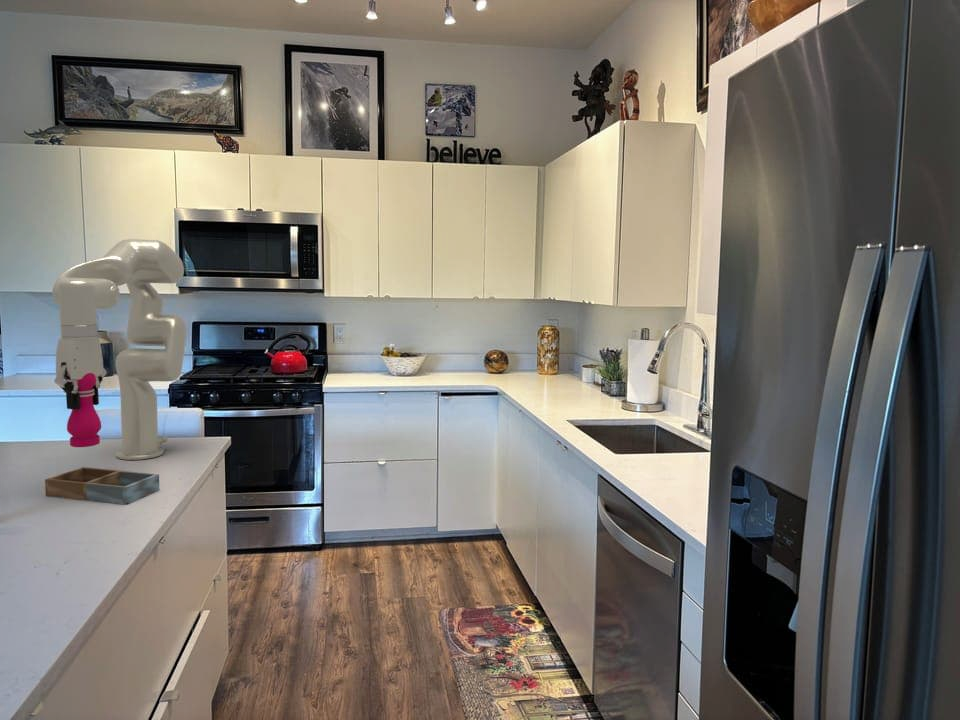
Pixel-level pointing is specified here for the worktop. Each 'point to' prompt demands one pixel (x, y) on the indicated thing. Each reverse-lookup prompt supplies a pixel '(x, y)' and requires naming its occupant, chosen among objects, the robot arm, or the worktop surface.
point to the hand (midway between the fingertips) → (83, 405)
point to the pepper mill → (84, 416)
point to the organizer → (102, 485)
